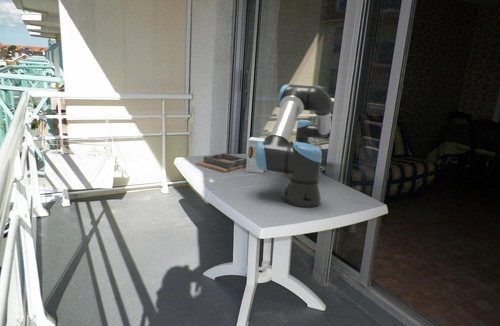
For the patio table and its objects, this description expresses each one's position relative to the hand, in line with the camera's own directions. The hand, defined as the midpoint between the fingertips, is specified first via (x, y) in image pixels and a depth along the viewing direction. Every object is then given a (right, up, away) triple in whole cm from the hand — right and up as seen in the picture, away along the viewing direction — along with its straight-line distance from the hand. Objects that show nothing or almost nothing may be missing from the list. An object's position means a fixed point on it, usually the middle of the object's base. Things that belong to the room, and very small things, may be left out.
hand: (266, 151), depth 186 cm
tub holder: (-22, -7, +2) cm, 24 cm away
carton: (+16, -14, -10) cm, 23 cm away
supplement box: (-6, -10, -3) cm, 12 cm away
